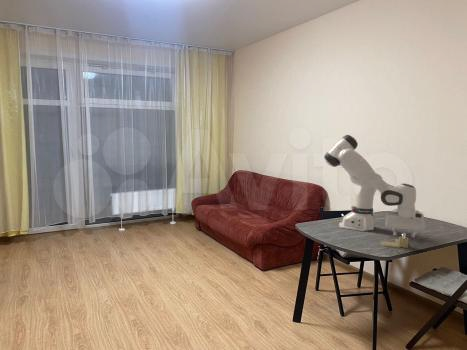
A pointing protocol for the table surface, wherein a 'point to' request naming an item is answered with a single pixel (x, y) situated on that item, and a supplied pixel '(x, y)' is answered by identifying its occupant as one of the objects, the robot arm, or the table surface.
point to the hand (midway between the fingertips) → (403, 236)
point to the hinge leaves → (397, 243)
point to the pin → (403, 235)
